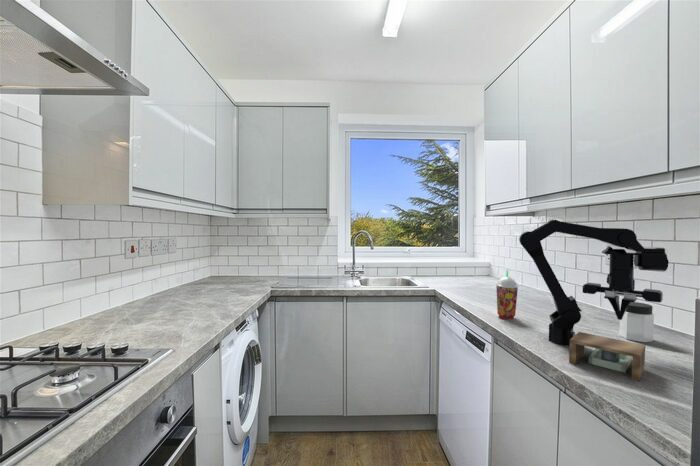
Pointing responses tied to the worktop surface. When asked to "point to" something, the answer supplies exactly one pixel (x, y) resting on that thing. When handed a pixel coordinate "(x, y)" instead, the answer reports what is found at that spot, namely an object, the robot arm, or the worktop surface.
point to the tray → (619, 366)
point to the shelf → (610, 345)
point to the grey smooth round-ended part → (609, 356)
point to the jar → (637, 322)
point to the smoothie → (506, 297)
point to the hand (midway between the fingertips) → (619, 319)
